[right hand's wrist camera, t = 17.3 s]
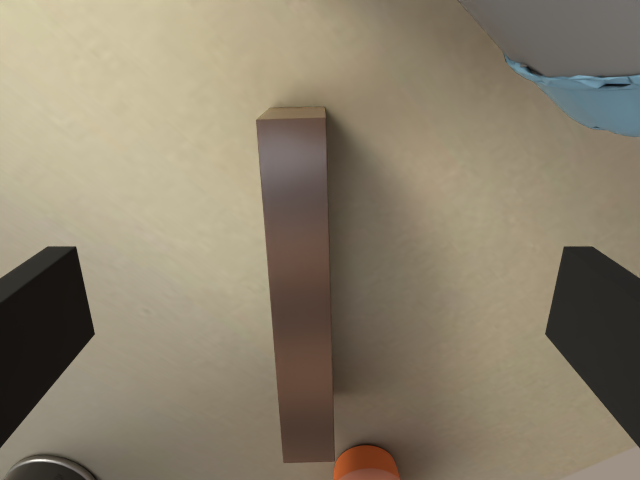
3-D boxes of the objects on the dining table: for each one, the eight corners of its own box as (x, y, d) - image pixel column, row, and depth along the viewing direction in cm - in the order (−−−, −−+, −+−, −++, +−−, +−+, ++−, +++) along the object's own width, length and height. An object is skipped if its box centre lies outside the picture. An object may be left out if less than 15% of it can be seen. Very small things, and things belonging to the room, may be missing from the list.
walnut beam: (332, 395, 42) (334, 461, 35) (289, 396, 42) (283, 463, 35) (324, 106, 33) (326, 117, 26) (269, 108, 33) (255, 119, 26)
